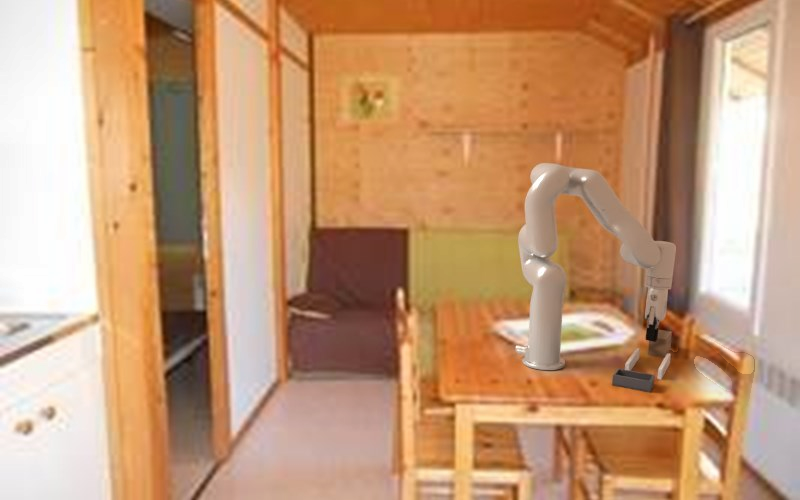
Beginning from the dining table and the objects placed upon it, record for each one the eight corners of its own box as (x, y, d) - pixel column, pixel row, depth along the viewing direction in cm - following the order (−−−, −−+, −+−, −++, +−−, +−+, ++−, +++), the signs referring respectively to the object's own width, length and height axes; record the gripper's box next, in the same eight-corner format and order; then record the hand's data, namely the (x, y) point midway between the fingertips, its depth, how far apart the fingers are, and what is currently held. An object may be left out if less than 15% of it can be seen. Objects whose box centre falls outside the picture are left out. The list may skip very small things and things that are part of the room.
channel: (624, 373, 191) (625, 363, 191) (635, 357, 205) (636, 348, 204) (661, 379, 186) (661, 369, 186) (669, 363, 200) (670, 353, 199)
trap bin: (612, 385, 182) (612, 374, 181) (616, 378, 187) (617, 368, 186) (650, 392, 177) (650, 381, 176) (654, 385, 182) (654, 374, 182)
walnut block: (647, 355, 208) (649, 336, 207) (654, 346, 216) (655, 329, 215) (664, 358, 205) (666, 339, 204) (670, 349, 213) (671, 331, 212)
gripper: (667, 288, 191) (660, 348, 194) (675, 280, 204) (667, 337, 207) (640, 284, 194) (633, 343, 197) (649, 276, 207) (642, 332, 210)
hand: (651, 340), depth 202 cm, fingers closed
